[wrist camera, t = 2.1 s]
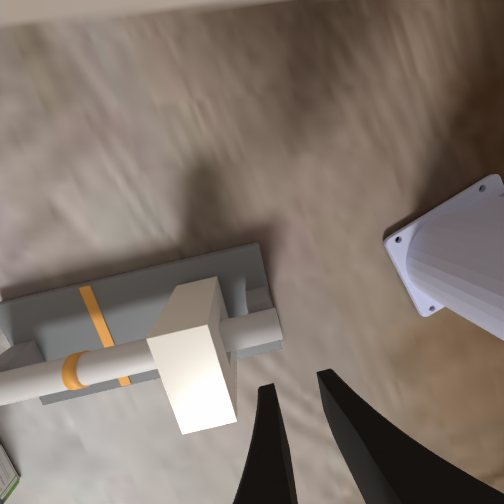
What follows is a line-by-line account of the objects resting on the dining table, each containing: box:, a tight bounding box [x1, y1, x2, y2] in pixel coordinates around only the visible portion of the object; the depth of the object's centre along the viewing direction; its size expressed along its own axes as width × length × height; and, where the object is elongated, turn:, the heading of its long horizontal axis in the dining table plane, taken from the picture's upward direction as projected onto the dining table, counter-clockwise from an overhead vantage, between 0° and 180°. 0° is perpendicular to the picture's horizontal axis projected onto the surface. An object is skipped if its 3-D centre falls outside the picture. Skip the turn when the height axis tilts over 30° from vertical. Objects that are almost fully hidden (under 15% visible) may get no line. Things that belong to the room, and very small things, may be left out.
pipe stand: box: [0, 242, 283, 406], centre depth 18 cm, size 20×9×6 cm, turn 103°
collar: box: [146, 276, 237, 434], centre depth 16 cm, size 3×6×7 cm, turn 13°
